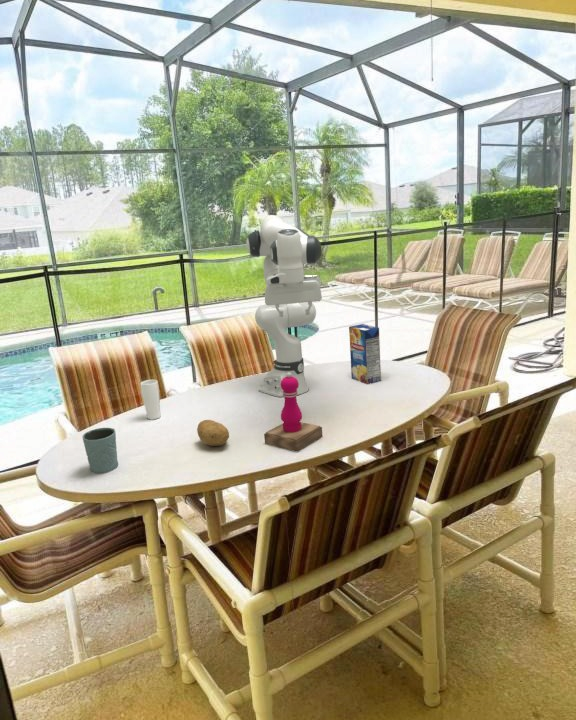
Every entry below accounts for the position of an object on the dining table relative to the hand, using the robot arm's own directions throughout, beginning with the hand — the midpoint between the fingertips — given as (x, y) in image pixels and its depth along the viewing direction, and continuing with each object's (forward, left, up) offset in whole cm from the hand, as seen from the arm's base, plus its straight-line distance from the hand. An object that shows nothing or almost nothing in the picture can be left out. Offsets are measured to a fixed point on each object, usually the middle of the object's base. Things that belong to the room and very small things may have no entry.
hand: (294, 315), depth 199 cm
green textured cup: (-31, -65, -39) cm, 82 cm away
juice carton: (-3, +51, -39) cm, 65 cm away
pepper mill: (+9, -18, -35) cm, 40 cm away
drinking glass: (-54, -27, -39) cm, 72 cm away
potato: (-12, -34, -39) cm, 53 cm away
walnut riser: (+10, -18, -39) cm, 44 cm away
